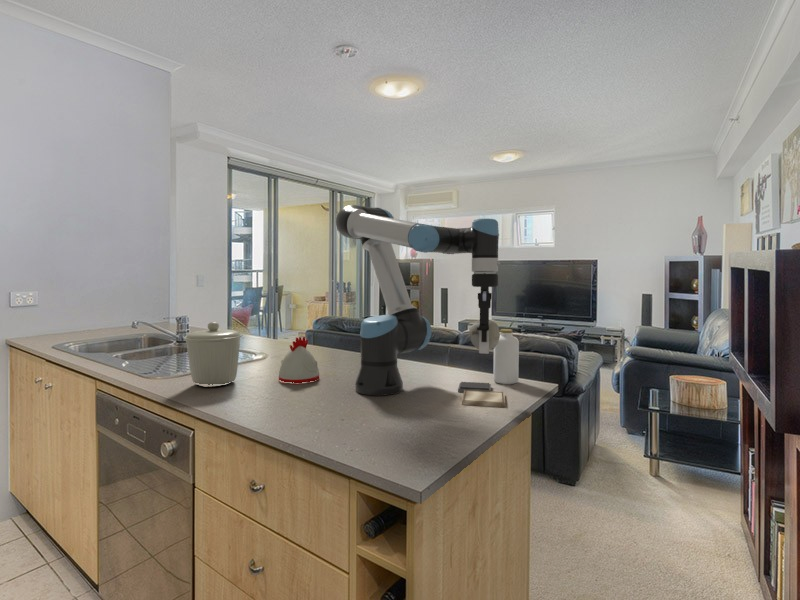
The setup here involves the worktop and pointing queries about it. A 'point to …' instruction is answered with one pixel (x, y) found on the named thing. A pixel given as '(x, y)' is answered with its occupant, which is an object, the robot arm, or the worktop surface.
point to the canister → (213, 354)
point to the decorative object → (493, 334)
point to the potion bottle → (506, 358)
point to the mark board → (483, 398)
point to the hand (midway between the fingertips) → (484, 350)
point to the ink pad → (474, 386)
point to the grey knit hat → (299, 364)
